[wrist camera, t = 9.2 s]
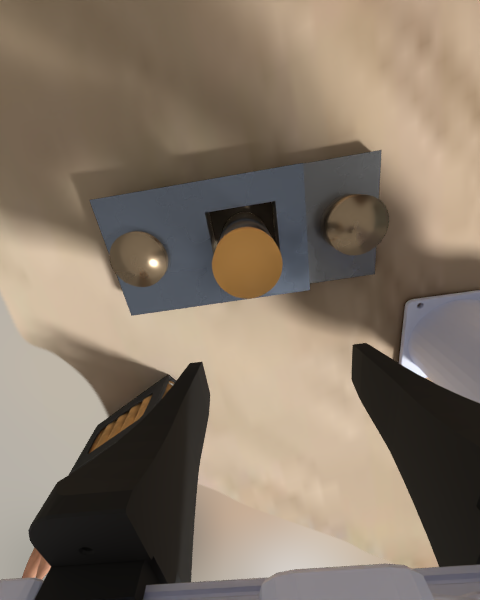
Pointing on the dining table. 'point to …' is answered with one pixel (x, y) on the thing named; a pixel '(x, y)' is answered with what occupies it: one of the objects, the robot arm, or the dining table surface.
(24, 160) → the dining table surface
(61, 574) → the robot arm
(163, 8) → the dining table surface
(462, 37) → the dining table surface
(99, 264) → the dining table surface
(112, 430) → the ammunition clip
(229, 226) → the pin
